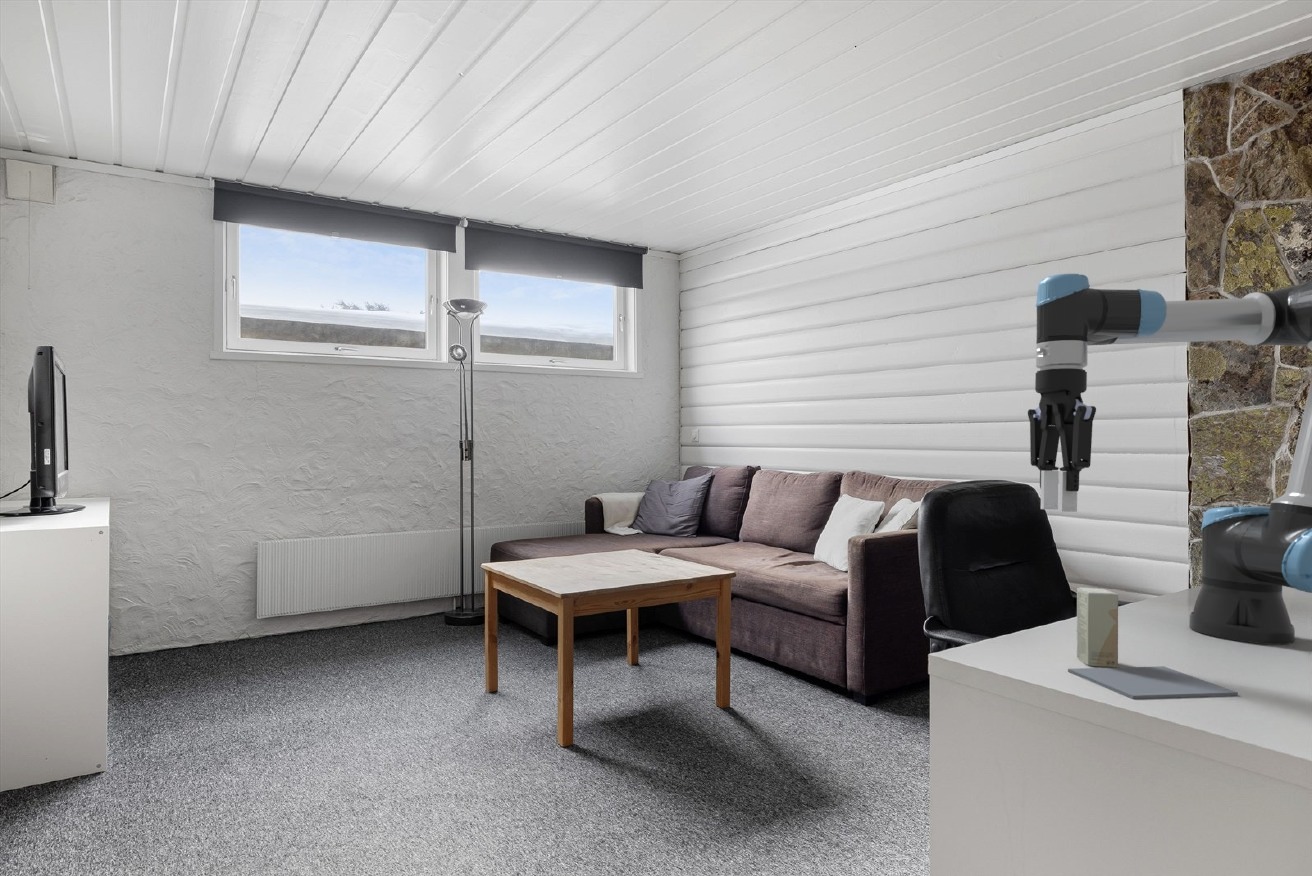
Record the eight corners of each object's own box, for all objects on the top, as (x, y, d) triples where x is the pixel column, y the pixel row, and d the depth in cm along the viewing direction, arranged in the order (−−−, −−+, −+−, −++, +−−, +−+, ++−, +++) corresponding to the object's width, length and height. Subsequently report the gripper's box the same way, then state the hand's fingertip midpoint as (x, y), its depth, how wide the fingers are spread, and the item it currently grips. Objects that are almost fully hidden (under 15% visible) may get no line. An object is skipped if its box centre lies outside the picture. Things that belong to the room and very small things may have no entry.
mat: (1163, 669, 112) (1163, 666, 112) (1238, 695, 101) (1238, 692, 101) (1068, 671, 110) (1068, 668, 110) (1132, 698, 98) (1132, 695, 98)
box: (1118, 668, 112) (1120, 594, 112) (1087, 666, 113) (1088, 592, 113) (1105, 659, 117) (1106, 588, 117) (1075, 657, 118) (1076, 586, 118)
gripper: (1008, 373, 132) (1006, 506, 132) (1077, 362, 116) (1074, 514, 115) (1046, 374, 134) (1044, 506, 133) (1120, 364, 117) (1117, 515, 117)
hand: (1058, 510), depth 124 cm, fingers open, 4 cm apart
